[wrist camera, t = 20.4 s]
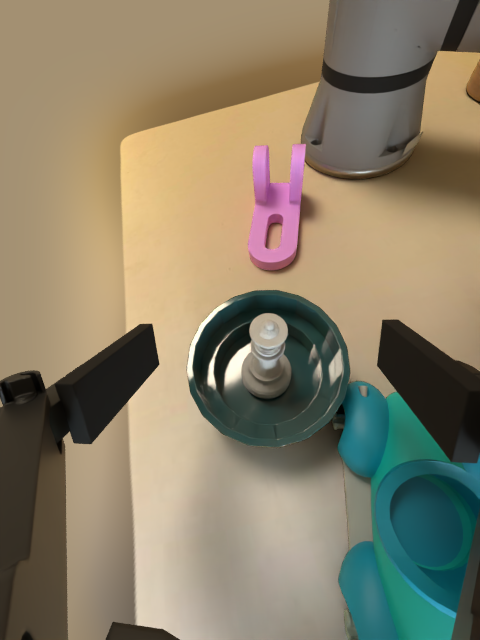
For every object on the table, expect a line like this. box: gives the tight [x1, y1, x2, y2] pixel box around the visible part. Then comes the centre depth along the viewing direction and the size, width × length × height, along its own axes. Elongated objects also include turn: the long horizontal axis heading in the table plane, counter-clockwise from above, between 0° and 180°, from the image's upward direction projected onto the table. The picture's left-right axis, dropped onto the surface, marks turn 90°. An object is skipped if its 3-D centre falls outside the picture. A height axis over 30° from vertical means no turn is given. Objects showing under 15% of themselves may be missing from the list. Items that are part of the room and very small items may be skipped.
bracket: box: [248, 144, 306, 270], centre depth 29 cm, size 13×6×7 cm, turn 171°
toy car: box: [332, 381, 480, 640], centre depth 16 cm, size 11×18×7 cm, turn 175°
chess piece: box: [241, 313, 291, 399], centre depth 19 cm, size 4×4×10 cm
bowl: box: [187, 290, 350, 448], centre depth 22 cm, size 12×12×6 cm
